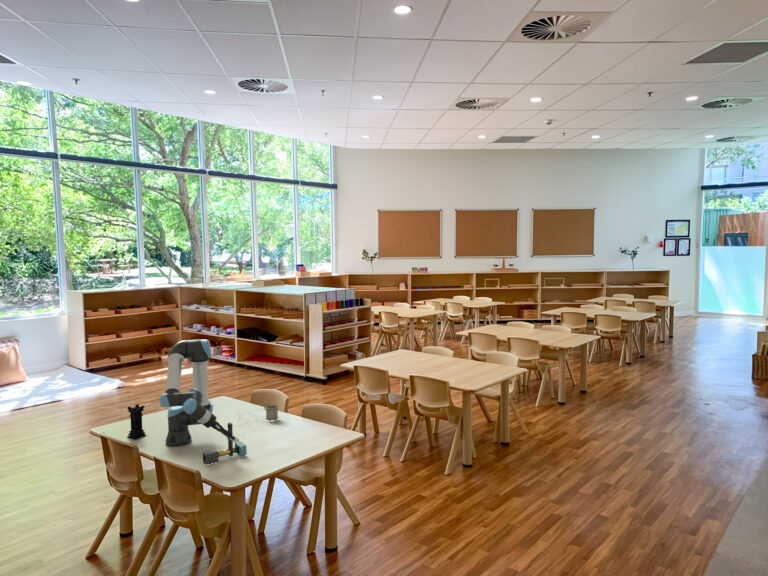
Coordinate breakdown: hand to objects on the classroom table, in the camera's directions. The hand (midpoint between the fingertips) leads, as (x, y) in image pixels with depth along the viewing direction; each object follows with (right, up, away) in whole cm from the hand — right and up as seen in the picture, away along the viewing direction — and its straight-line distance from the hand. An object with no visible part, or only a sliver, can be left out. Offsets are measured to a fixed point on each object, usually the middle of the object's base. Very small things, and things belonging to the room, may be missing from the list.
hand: (233, 438), depth 294 cm
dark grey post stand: (-3, -10, -2) cm, 10 cm away
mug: (+6, -7, +68) cm, 68 cm away
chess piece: (-73, -9, +34) cm, 81 cm away
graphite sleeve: (-10, -11, -8) cm, 17 cm away
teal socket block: (+3, -10, +3) cm, 11 cm away
